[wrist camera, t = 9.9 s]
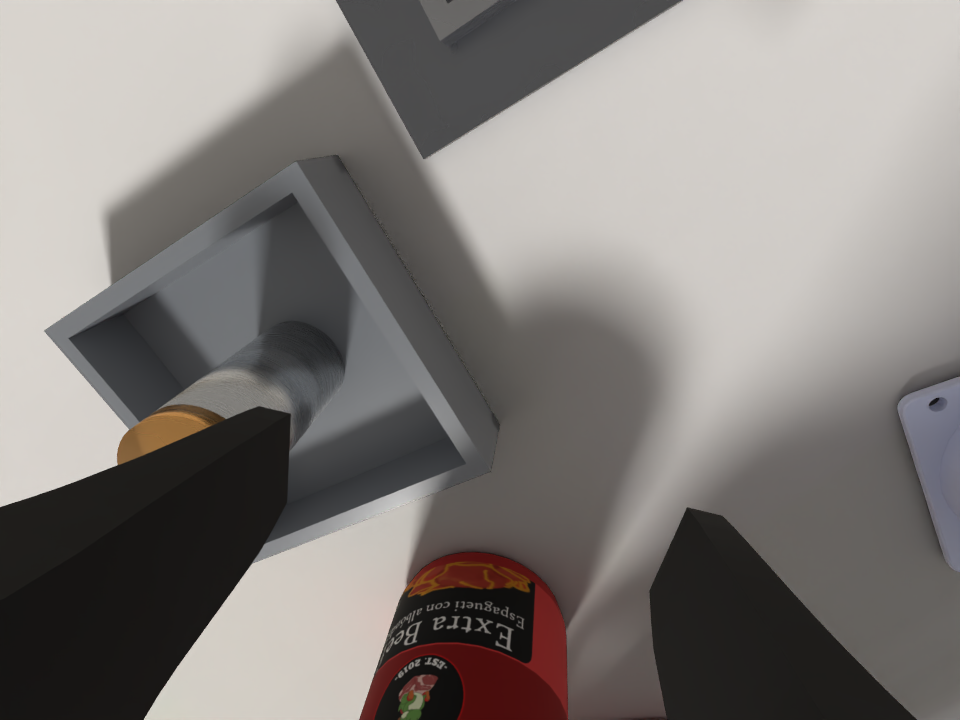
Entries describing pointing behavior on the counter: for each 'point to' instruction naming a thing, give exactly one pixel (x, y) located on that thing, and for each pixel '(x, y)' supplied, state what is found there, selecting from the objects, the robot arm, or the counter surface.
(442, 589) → the canned food
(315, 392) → the grey and gold cylinder
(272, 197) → the bin
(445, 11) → the socket base
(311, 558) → the counter surface
